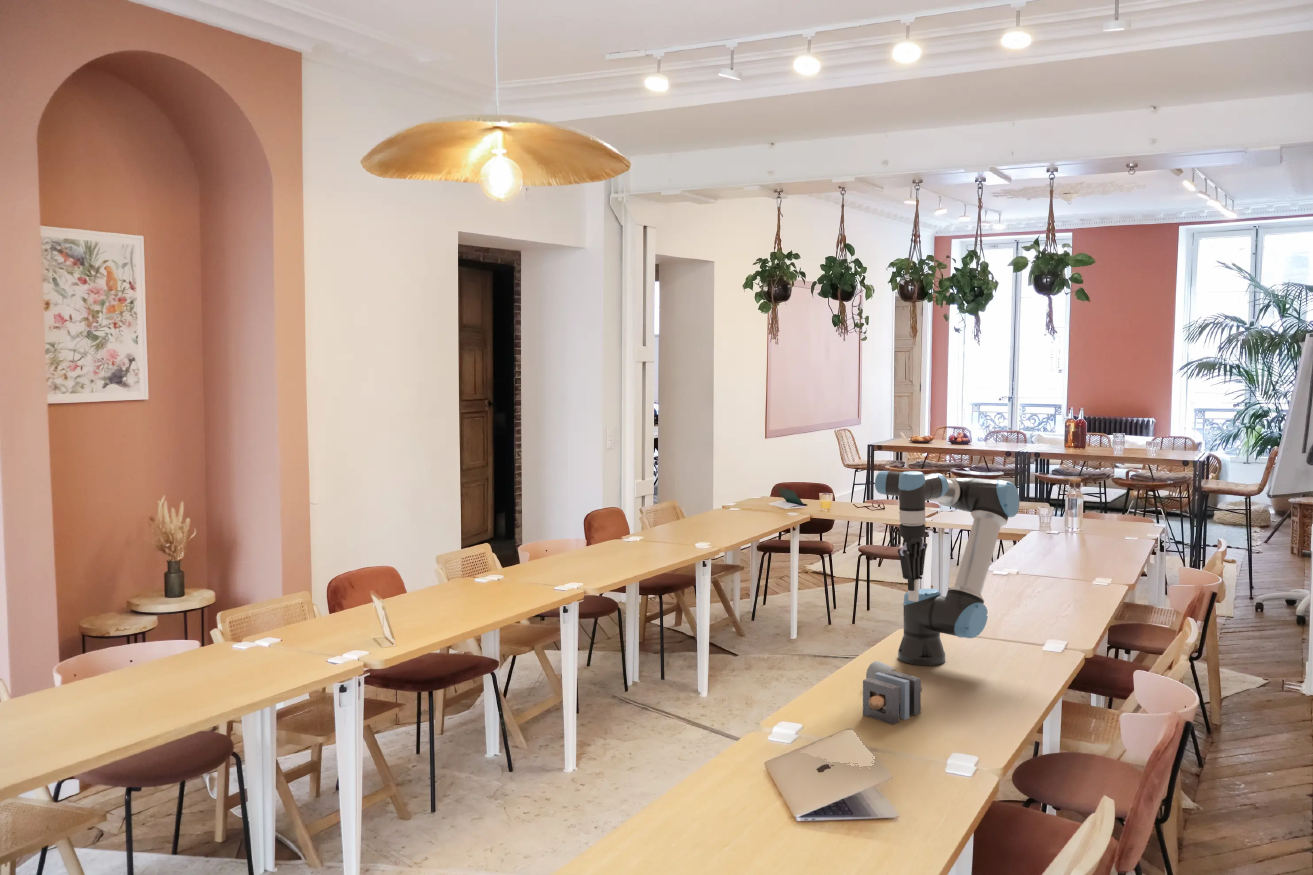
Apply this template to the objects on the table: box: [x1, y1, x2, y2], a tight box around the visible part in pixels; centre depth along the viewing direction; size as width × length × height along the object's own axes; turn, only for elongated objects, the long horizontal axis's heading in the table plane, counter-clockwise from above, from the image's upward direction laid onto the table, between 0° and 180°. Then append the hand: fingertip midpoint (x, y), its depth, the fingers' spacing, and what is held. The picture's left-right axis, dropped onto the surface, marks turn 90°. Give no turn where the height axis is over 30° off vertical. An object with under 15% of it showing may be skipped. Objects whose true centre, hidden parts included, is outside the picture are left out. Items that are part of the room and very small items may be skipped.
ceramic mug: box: [865, 660, 900, 679], centre depth 296 cm, size 11×8×8 cm
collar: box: [862, 678, 900, 725], centre depth 271 cm, size 3×10×10 cm, turn 40°
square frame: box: [885, 670, 922, 717], centre depth 277 cm, size 3×10×10 cm, turn 40°
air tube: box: [869, 685, 923, 710], centre depth 275 cm, size 20×4×4 cm, turn 130°
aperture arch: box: [875, 672, 910, 721], centre depth 274 cm, size 2×10×11 cm, turn 40°
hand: (913, 600), depth 295 cm, fingers closed
